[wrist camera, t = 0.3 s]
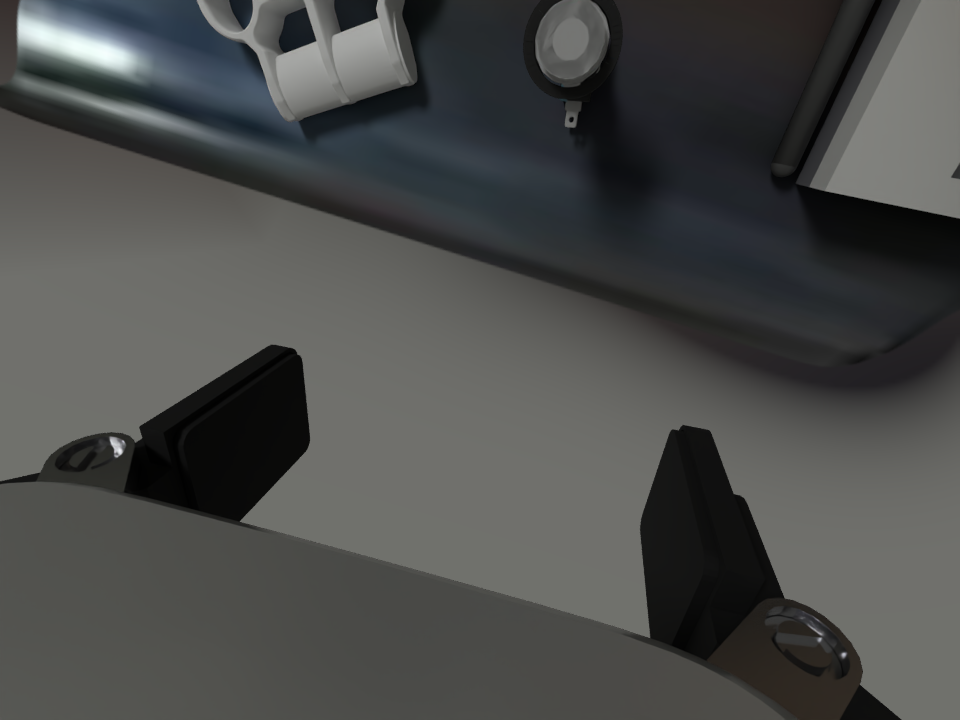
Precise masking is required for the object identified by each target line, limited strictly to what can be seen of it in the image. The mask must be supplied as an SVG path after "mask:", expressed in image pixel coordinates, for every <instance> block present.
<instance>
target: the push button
mask: <svg viewBox="0 0 960 720" xmlns="http://www.w3.org/2000/svg"><path fill="white" fill-rule="evenodd" d="M608 26H609V30H610V35H611V45H610V49H609V53H608V56H607V58H606V60H605V62H604V64H603V66H602V67H601V69H600V64H601V62H602V60H603V59H604V57H605V55H606V51H607V47H608V42H609V30H608ZM622 38H623V29H622V21H621V17H620V13H619V11H618V8H617V6H616V4H615V2H614V1H613V0H541V1H540V2H539V3H538V5H537V6H536V8H535V9H534V11H533V13H532V14H531V16H530V19H529V21H528V24H527V27H526V30H525V35H524V43H523V52H524V60H525V64H526V68H527V70H528V73H529V75H530V77H531V78H532V80H533V81H534V83H535V84H536V85H537V86H538V87H539V88H540V89H541V90H542V91H544V92H545V93H546V94H548V95H550V96H552V97H555V98H559V99H560V100H561V101H566V105H565V110H567V113H566V120H565V126H566V127H573V128H575V127H576V125H577V118H578V112H579V111H581V106H582V103H585V102H590V99H591V93H592V92H593V91H594V90H596V89H597V88H598V87H599V86H600V85H601V84H603V82H604V81H605V80H606V79H607V78H608V76H609V75H610V74H611V72H612V70H613V69H614V67H615V65H616V63H617V60H618V58H619V54H620V51H621V46H622ZM539 65H540V66H539ZM540 67H541V69H540ZM541 70H542V71H543V73H545V74H546V75H547V76H548V77H549V78H550V79H551V80H553V81H555V82H558V83H562V84H561V86H558V85H555V84H553V83H551V82H550V81H548V80H547V79H546V78H545V76H544V75H543V73H542V71H541ZM596 73H597V74H596ZM595 74H596V75H595ZM570 117H574V121H573V122H572V123H570V122H569V118H570Z"/></svg>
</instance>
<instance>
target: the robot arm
mask: <svg viewBox="0 0 960 720" xmlns="http://www.w3.org/2000/svg"><path fill="white" fill-rule="evenodd" d="M139 428H140V431H141V435H142V439H141V440H139V441H138V442H136V443H135V442H134V440H133V439H132V438H131V437H130V436H129V435H126V434H123V433H113V432H110V433H100V434H95V435H90V436H87V437H83V438H80V439H77V440H75V441H72V442H70V443H68V444H66V445H64V446H63V447H60V448H59V449H58V450H56V451H55V452H54V453H53V454H51V455H50V456H49V458H48V459H47V460H46V462H45V464H44V466H43V468H42V470H41V472H40V473H36V474H32V475H27V476H23V477H18V478H14V479H9V480H5V481H0V720H901V719H900V718H899V717H898V716H896V715H895V714H894V713H893V712H892V711H890V710H889V709H888V708H887V707H886V706H884V705H883V704H882V703H881V702H880V701H879V700H877V699H876V698H875V697H874V696H872V695H871V694H870V693H869V692H868V691H867V690H865V689H864V688H863V687H862V686H861V685H860V683H861V678H862V674H863V670H862V665H861V661H860V657H859V656H858V654H857V652H856V650H855V649H854V647H853V645H852V643H851V642H850V641H849V640H848V639H847V638H846V636H845V635H844V634H843V633H842V632H841V630H840V629H839V628H838V627H836V626H835V625H834V624H833V623H832V622H830V621H829V620H828V619H827V618H826V617H825V616H823V615H821V614H820V613H818V612H817V611H815V610H813V609H812V608H810V607H808V606H806V605H803V604H801V603H798V602H796V601H794V600H789V599H785V598H784V596H783V593H782V591H781V589H780V585H779V583H778V581H777V578H776V575H775V573H774V570H773V568H772V565H771V563H770V560H769V558H768V555H767V553H766V550H765V548H764V545H763V542H762V540H761V537H760V535H759V532H758V530H757V527H756V525H755V522H754V520H753V517H752V515H751V512H750V510H749V507H748V505H747V503H746V501H745V499H744V498H743V497H741V496H740V495H735V494H733V491H732V488H731V486H730V483H729V480H728V477H727V475H726V472H725V469H724V467H723V464H722V461H721V458H720V456H719V453H718V450H717V447H716V445H715V442H714V439H713V437H712V434H711V432H710V431H709V430H706V429H701V428H696V427H690V426H685V425H683V426H681V428H680V429H679V431H678V430H671V432H670V434H669V437H668V439H667V443H666V445H665V448H664V451H663V454H662V457H661V460H660V463H659V466H658V469H657V472H656V475H655V478H654V481H653V484H652V487H651V490H650V493H649V496H648V499H647V502H646V505H645V508H644V511H643V515H642V518H641V525H640V534H641V544H642V555H643V565H644V575H645V585H646V597H647V607H648V618H649V628H650V638H648V637H644V636H641V635H638V634H635V633H632V632H629V631H627V630H624V629H621V628H617V627H614V626H611V625H608V624H604V623H601V622H598V621H594V620H591V619H588V618H584V617H581V616H577V615H574V614H570V613H567V612H563V611H560V610H557V609H553V608H550V607H547V606H543V605H540V604H536V603H533V602H529V601H526V600H522V599H519V598H515V597H511V596H508V595H504V594H501V593H497V592H494V591H490V590H486V589H483V588H479V587H476V586H472V585H468V584H465V583H461V582H458V581H454V580H450V579H447V578H444V577H440V576H436V575H433V574H429V573H426V572H422V571H418V570H414V569H411V568H408V567H403V566H400V565H397V564H392V563H389V562H386V561H382V560H378V559H375V558H371V557H368V556H364V555H360V554H356V553H353V552H349V551H346V550H342V549H338V548H334V547H331V546H327V545H323V544H320V543H316V542H313V541H309V540H305V539H301V538H298V537H294V536H291V535H287V534H283V533H279V532H276V531H272V530H268V529H264V528H260V527H257V526H253V525H249V524H245V523H242V522H240V520H241V519H242V518H243V517H244V516H245V515H246V514H247V513H248V512H249V511H250V510H251V509H252V508H253V507H254V506H255V505H256V503H257V502H258V501H259V500H260V499H261V498H262V497H263V496H264V495H265V494H266V493H267V492H268V491H269V490H270V489H271V488H272V487H273V486H274V484H275V483H276V482H277V481H278V480H279V479H280V478H281V477H282V476H283V475H284V474H285V473H286V472H287V471H288V470H289V469H290V468H291V466H292V465H293V464H294V463H295V462H296V461H297V460H298V459H299V458H300V457H301V456H302V455H303V454H304V453H305V452H306V450H307V448H308V446H309V443H310V433H309V423H308V413H307V403H306V393H305V384H304V373H303V363H302V358H301V357H300V356H299V355H297V352H296V350H294V349H293V348H288V347H283V346H278V345H270V346H268V347H266V348H265V349H263V350H261V351H260V352H258V353H257V354H255V355H253V356H252V357H250V358H249V359H247V360H245V361H244V362H242V363H241V364H239V365H238V366H236V367H234V368H233V369H231V370H229V371H228V372H226V373H225V374H223V375H221V376H220V377H218V378H216V379H215V380H213V381H212V382H210V383H209V384H207V385H205V386H204V387H202V388H200V389H199V390H197V391H196V392H194V393H192V394H191V395H189V396H188V397H186V398H184V399H183V400H181V401H180V402H178V403H177V404H175V405H173V406H172V407H170V408H169V409H167V410H165V411H164V412H162V413H160V414H159V415H157V416H156V417H154V418H153V419H151V420H149V421H148V422H146V423H144V424H143V425H141V426H140V427H139Z"/></svg>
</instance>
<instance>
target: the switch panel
mask: <svg viewBox="0 0 960 720" xmlns="http://www.w3.org/2000/svg"><path fill="white" fill-rule="evenodd" d="M874 2H875V0H843V3H842V5H841V7H840V9H839V12H838V14H837V16H836V18H835V21H834V23H833V25H832V27H831V30H830V32H829V34H828V36H827V39H826V41H825V43H824V46H823V48H822V50H821V52H820V55H819V57H818V59H817V61H816V64H815V66H814V68H813V70H812V73H811V75H810V77H809V79H808V82H807V84H806V86H805V88H804V91H803V93H802V95H801V98H800V100H799V102H798V104H797V107H796V109H795V111H794V113H793V116H792V118H791V120H790V122H789V125H788V127H787V129H786V131H785V134H784V136H783V138H782V141H781V143H780V145H779V147H778V150H777V152H776V154H775V156H774V159H773V161H772V163H771V172H772V173H773V174H774V175H775V176H777V177H787V176H789V175H791V174H792V173H793V172H794V171H795V170H796V168H797V166H798V164H799V162H800V160H801V158H802V156H803V153H804V151H805V149H806V147H807V145H808V143H809V141H810V139H811V136H812V134H813V132H814V130H815V128H816V126H817V124H818V121H819V119H820V117H821V115H822V113H823V111H824V109H825V107H826V104H827V102H828V100H829V98H830V96H831V94H832V92H833V89H834V87H835V85H836V83H837V81H838V79H839V77H840V75H841V72H842V70H843V68H844V66H845V64H846V62H847V60H848V57H849V55H850V53H851V51H852V49H853V47H854V45H855V42H856V40H857V38H858V36H859V34H860V32H861V30H862V28H863V25H864V23H865V21H866V19H867V17H868V15H869V13H870V10H871V8H872V6H873V4H874ZM795 184H799V185H803V186H807V187H811V188H815V189H819V190H823V191H827V192H832V193H837V194H842V195H847V196H852V197H857V198H862V199H867V200H872V201H876V202H881V203H886V204H891V205H896V206H901V207H906V208H911V209H916V210H921V211H926V212H930V213H935V214H940V215H945V216H950V217H955V218H960V0H882V2H881V4H880V6H879V8H878V10H877V13H876V15H875V17H874V19H873V21H872V23H871V25H870V27H869V29H868V32H867V34H866V36H865V38H864V40H863V42H862V44H861V46H860V48H859V51H858V53H857V55H856V57H855V59H854V61H853V63H852V65H851V67H850V70H849V72H848V74H847V76H846V78H845V80H844V82H843V84H842V86H841V88H840V91H839V93H838V95H837V97H836V99H835V101H834V103H833V105H832V107H831V110H830V112H829V114H828V116H827V118H826V120H825V122H824V124H823V126H822V129H821V131H820V133H819V135H818V137H817V139H816V141H815V143H814V145H813V148H812V150H811V152H810V154H809V156H808V158H807V160H806V162H805V164H804V167H803V169H802V171H801V173H800V175H799V177H798V179H797V181H796V183H795Z"/></svg>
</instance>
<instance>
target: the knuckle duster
mask: <svg viewBox="0 0 960 720" xmlns="http://www.w3.org/2000/svg"><path fill="white" fill-rule="evenodd" d="M252 1H253V15H252V19H251V21H250V23H249V25H248V27H247V28H246V29H245V30H243V28H242V27H241V25H240V24H239V22H238V20H237V19H236V17H235V16H234V14H233V12H232V9H231V6H230V2H229V0H197V2H198V4H199V7H200V9H201V11H202V13H203V15H204V16H205V18H206V19H207V21H208V22H209V23H210V25H211V26H212V27H213V28H214V29H215V30H216V31H217V32H219V33H220V34H221V35H223V36H224V37H226V38H228V39H231V40H234V41H237V42H241V43H245V44H247V45H249V46H250V47H251V48H252V49H253V50H254V51H255V52H256V53H257V55H258V58H259V61H260V64H261V66H262V69H263V72H264V75H265V78H266V82H267V85H268V89H269V91H270V94H271V97H272V99H273V101H274V103H275V105H276V107H277V109H278V110H279V112H280V114H281V115H282V117H283V118H284V119H285V120H286V121H287V122H293V121H300V120H303V118H305V117H308V116H312V115H315V114H318V113H321V112H324V111H327V110H331V109H334V108H337V107H340V106H343V105H346V104H354V103H356V101H359V100H362V99H365V98H368V97H372V96H375V95H378V94H381V93H384V92H387V91H390V90H394V89H397V88H400V87H403V86H410V85H414V84H415V83H416V82H417V68H416V63H415V58H414V54H413V50H412V46H411V42H410V38H409V34H408V31H407V28H406V25H405V23H404V21H403V17H402V10H403V6H404V2H405V0H378V2H377V7H376V11H377V15H378V19H375V20H372V21H370V22H367V23H364V24H362V25H359V26H356V27H354V28H351V29H348V30H346V31H343V32H341V30H340V26H339V23H338V19H337V16H336V12H335V9H334V1H335V0H252ZM305 7H306V9H307V12H308V15H309V18H310V22H311V25H312V28H313V31H314V34H315V38H316V42H314V43H311V44H308V45H306V46H303V47H300V48H298V49H295V50H292V51H290V52H287V53H284V52H283V51H282V50H281V48H280V46H279V37H280V35H281V33H282V30H283V25H284V19H285V17H286V16H287V15H288V14H290V13H293V12H295V11H298V10H300V9H303V8H305Z"/></svg>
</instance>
